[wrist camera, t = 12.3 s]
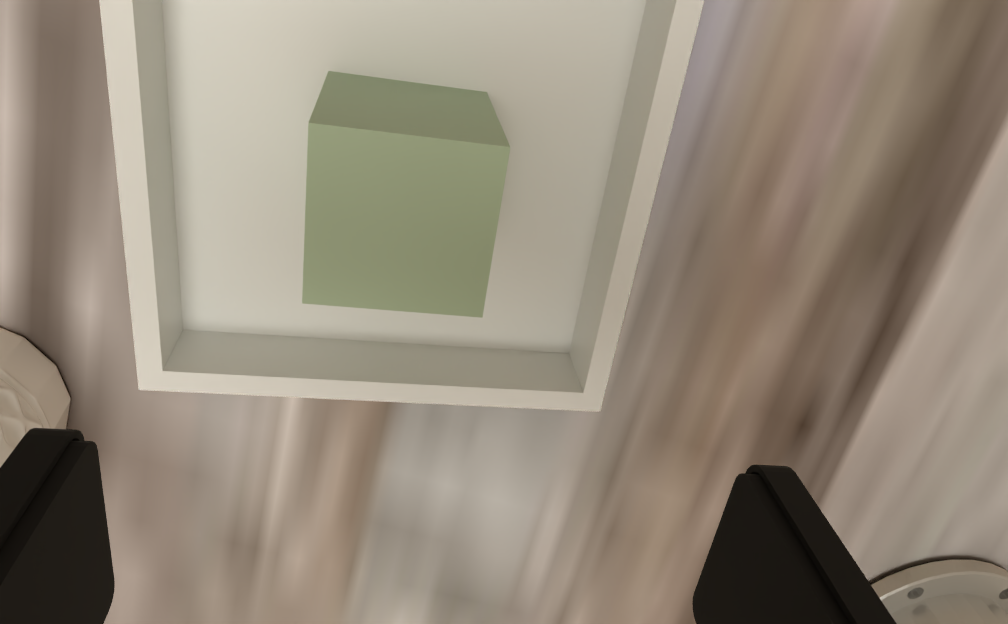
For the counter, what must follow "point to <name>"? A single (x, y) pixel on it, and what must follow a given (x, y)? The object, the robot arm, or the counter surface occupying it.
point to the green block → (401, 196)
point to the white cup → (28, 392)
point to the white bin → (282, 190)
